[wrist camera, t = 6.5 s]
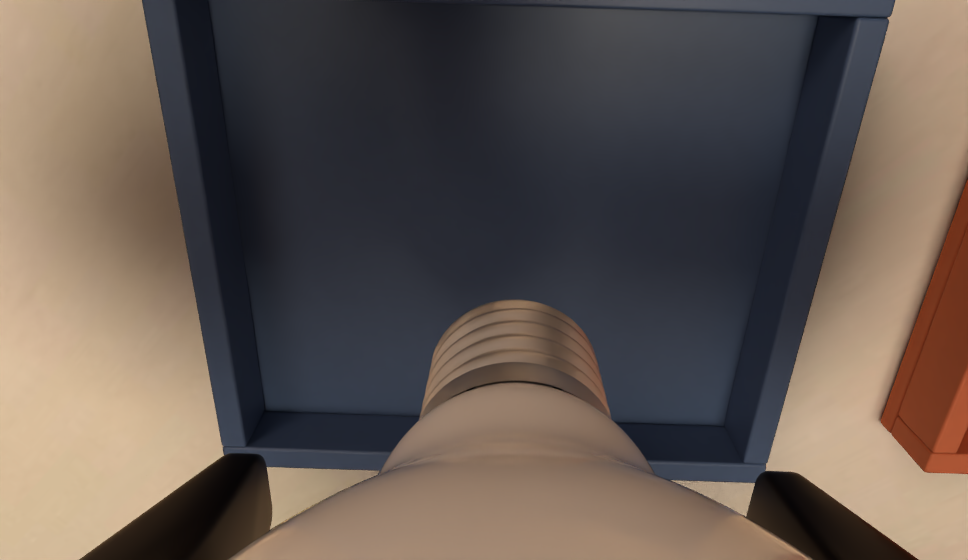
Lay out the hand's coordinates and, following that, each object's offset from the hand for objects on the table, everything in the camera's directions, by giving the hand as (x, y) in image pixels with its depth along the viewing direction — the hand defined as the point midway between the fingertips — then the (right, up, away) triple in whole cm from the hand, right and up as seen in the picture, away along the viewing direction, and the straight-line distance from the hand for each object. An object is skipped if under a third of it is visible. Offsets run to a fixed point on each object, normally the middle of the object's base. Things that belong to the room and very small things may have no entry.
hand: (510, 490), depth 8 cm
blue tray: (0, +4, +7) cm, 8 cm away
